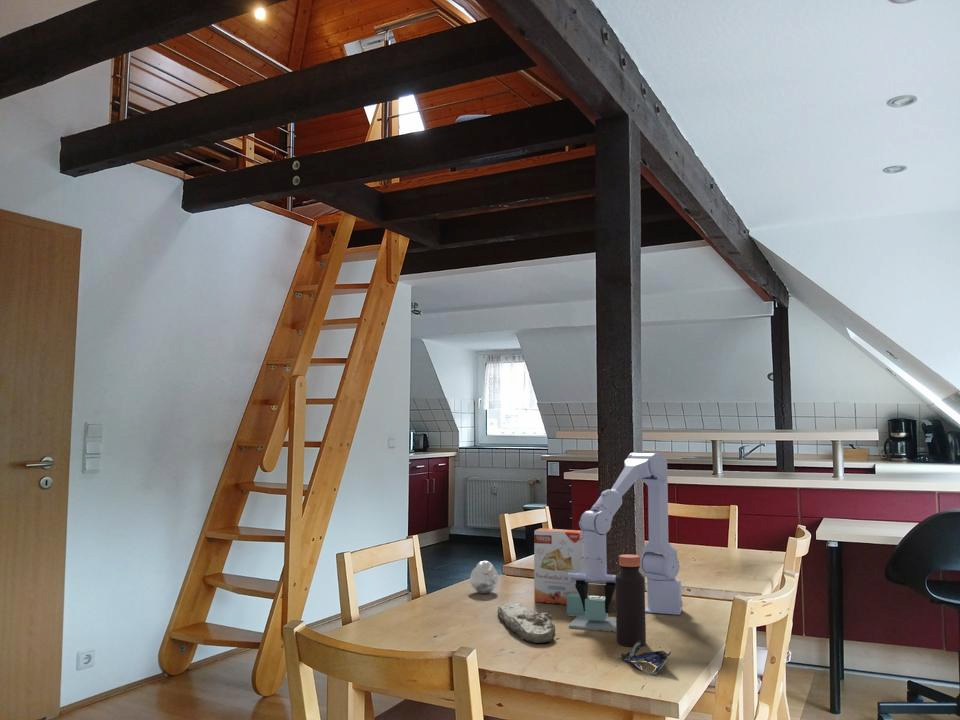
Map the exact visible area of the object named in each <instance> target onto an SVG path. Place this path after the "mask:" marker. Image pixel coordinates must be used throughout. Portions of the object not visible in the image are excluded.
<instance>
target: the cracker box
mask: <svg viewBox="0 0 960 720" xmlns="http://www.w3.org/2000/svg"><path fill="white" fill-rule="evenodd" d="M533 537H534V538H533V539H534V540H533V541H534V542H533V543H534V545H533V547H534V549H533V550H534V551H533V553H534V556H533V557H534V560H533V562H534V563H533V564H534V565H533V567H534V569H533V573H534V577H533V580H534V581H533V582H534V583H533V586H534V588H533V589H534V591H533V592H534V595H533V598H534V603H536V602H537V603H543V602H550V603H549V604H554V603H560V604H559V605H564V604H566V605H565V606H567V596H568V595H569V594H570V593H578V591H577V589H576V587H575V584H576V581H572V582H568V574H569V573H585V558H584V538H583V537H582V530H578V529H577V530H576V529H562V528H561V529H560V528H559V529H558V528H541V527H540V528H537V529H535V530H534V536H533ZM578 594H579V593H578Z"/></svg>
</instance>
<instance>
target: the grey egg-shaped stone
mask: <svg viewBox="0 0 960 720" xmlns="http://www.w3.org/2000/svg"><path fill="white" fill-rule="evenodd" d="M469 578H470V579H469V580H470V584H471V587H472V588H473V589H474V590H475V591H476V592H478V593H480V594H489V593H492V592H493V591H494V590H496V588H497V587H498V585H499V580H500V578H499V573H498V571H497V569H496V568H495V566H494V565H493V563H492V562H490V561H488V560H483V561H482V560H481V561H479V562H478V563H477V564H476V567H474V568H473V569H472V571H471V573H470V577H469Z"/></svg>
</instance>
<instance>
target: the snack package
mask: <svg viewBox="0 0 960 720" xmlns="http://www.w3.org/2000/svg"><path fill="white" fill-rule="evenodd" d="M640 644H641V641H637V643H636V644H635V645H634V647H632V650H631V651H628V652H627V653H626V654H624V653H623V652H621V657H620V658H621V660H622V659H623V660H622V661H626V662H627V661H628V663H630V664H633V665H634V666H635V667H637V668H638V669H639V670H640V671H642V670H641V667H640V665H639V664H637V663H638V662H636V663H633V662H631V661H647V662H651V663H652V664H654V665H656V666H657V668H656V670H655V671H654V672H653V673H652V672H651V674H657V675H658V673H659V672H660V670H661V669H662V668H664V667H663V666H664V665H665V663H666V662H667V660H668V658H669V657H670V656H671V654H672V651H671V650H670V651H669V653H667V652H666V651H665V650H656V651H648V652H644V653H641V654H637V652H639V651H640V647H641V646H639V645H640ZM651 646H652V645H651V644H650V647H651ZM659 648H660V649H662V647H661V646H660V647H659ZM636 654H637V655H636Z"/></svg>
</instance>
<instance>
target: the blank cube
mask: <svg viewBox="0 0 960 720" xmlns="http://www.w3.org/2000/svg"><path fill="white" fill-rule="evenodd" d="M588 596H589V594H587V597H588ZM571 615H574V617H575V616H576V617H577V616H578V615H585V611H584V609H583V604H582V601H581V598H580V595H579V594H578V593H570V594H569V595H568V596H567V605H566V616H571Z"/></svg>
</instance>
